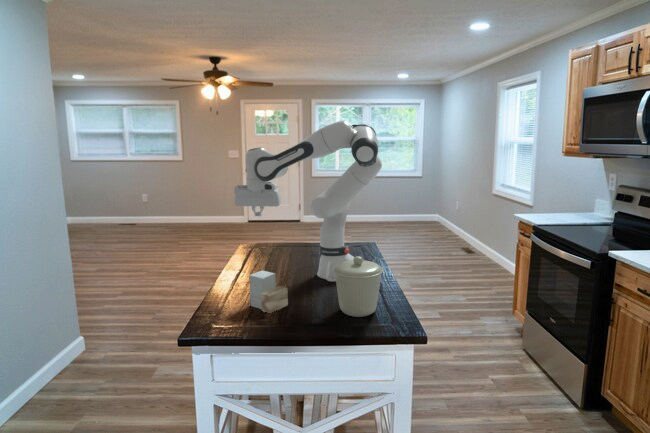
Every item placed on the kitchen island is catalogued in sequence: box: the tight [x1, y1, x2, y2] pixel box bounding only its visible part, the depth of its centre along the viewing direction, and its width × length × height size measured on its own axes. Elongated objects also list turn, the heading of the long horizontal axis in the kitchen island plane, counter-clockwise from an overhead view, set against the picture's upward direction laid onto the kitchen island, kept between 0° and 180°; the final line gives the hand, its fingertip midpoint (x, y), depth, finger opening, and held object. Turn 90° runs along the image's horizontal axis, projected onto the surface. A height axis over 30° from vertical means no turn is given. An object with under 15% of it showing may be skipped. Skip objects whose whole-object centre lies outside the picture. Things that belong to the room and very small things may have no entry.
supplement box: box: [248, 269, 277, 310], centre depth 164 cm, size 7×7×13 cm
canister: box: [333, 255, 384, 318], centre depth 156 cm, size 18×18×21 cm
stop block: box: [261, 285, 289, 314], centre depth 161 cm, size 4×10×7 cm, turn 143°
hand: (258, 216), depth 190 cm, fingers closed
